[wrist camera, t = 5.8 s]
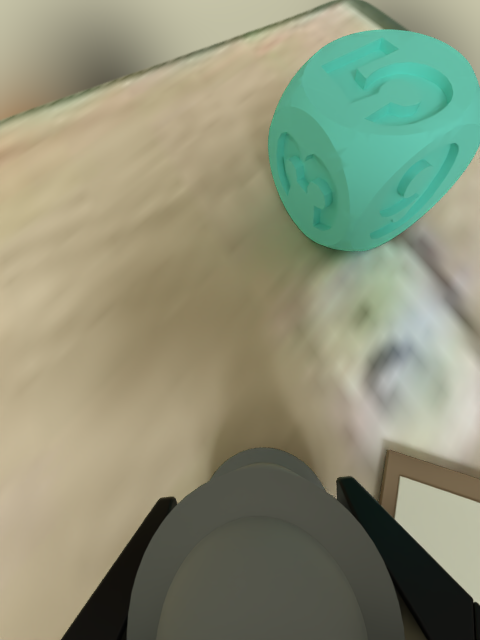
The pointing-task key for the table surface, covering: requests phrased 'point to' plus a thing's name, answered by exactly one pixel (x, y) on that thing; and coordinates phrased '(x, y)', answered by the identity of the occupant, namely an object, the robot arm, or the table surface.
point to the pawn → (262, 562)
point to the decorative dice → (373, 136)
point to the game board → (437, 514)
